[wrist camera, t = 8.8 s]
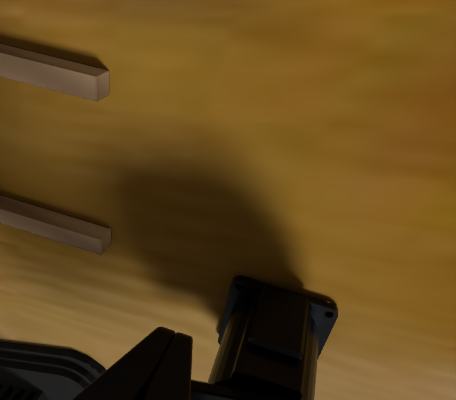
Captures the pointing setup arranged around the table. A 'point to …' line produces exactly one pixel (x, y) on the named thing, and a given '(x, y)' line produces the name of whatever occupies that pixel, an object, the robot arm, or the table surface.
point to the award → (44, 373)
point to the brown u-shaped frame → (70, 84)
